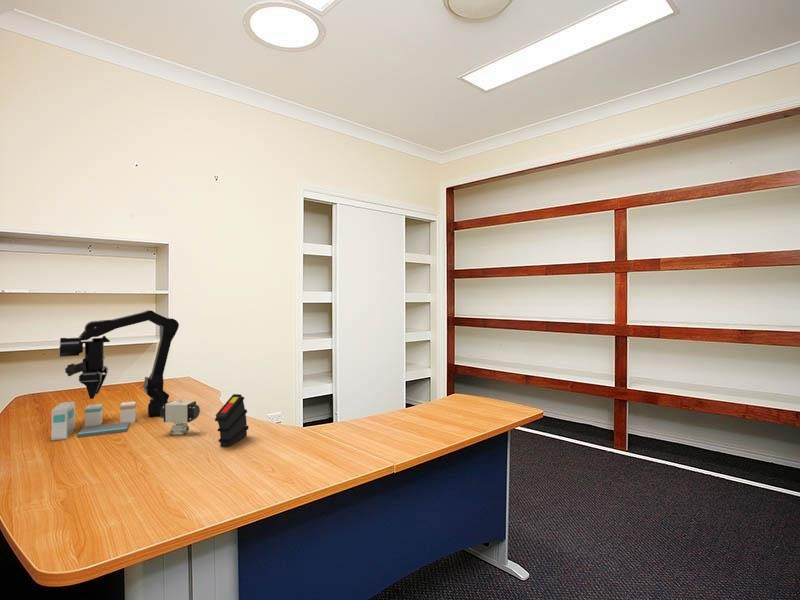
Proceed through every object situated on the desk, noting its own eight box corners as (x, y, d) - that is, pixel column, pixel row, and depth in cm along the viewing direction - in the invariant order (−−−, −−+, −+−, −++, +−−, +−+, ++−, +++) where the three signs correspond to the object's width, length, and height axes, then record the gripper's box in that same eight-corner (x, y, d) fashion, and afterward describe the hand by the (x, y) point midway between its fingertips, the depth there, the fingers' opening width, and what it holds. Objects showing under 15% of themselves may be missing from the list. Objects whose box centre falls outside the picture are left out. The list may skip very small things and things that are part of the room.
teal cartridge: (102, 422, 161) (102, 403, 161) (100, 425, 157) (100, 406, 157) (87, 423, 159) (87, 405, 159) (84, 427, 155) (84, 408, 155)
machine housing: (76, 428, 152) (76, 401, 152) (67, 438, 141) (67, 409, 141) (60, 430, 150) (60, 402, 150) (51, 440, 139) (51, 410, 139)
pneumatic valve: (193, 436, 144) (193, 401, 144) (159, 435, 145) (159, 400, 145) (201, 431, 150) (201, 397, 150) (168, 431, 150) (168, 397, 150)
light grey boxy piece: (135, 419, 165) (136, 401, 165) (134, 422, 161) (134, 403, 161) (121, 420, 163) (121, 402, 163) (120, 423, 159) (120, 405, 159)
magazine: (253, 428, 147) (243, 393, 141) (233, 457, 136) (221, 420, 129) (243, 428, 148) (232, 393, 142) (222, 456, 136) (210, 420, 130)
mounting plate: (129, 424, 158) (129, 421, 158) (126, 431, 149) (126, 428, 149) (83, 429, 152) (83, 426, 152) (77, 437, 143) (77, 433, 143)
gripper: (73, 353, 163) (73, 393, 163) (60, 359, 146) (60, 404, 146) (108, 351, 168) (107, 390, 168) (100, 357, 151) (99, 400, 151)
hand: (94, 396), depth 158 cm, fingers open, 9 cm apart
